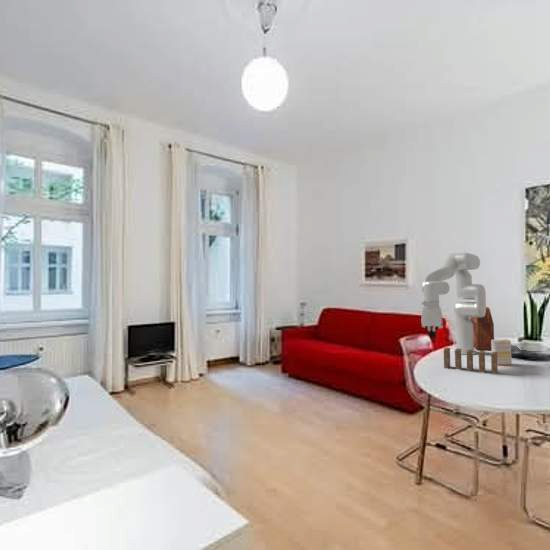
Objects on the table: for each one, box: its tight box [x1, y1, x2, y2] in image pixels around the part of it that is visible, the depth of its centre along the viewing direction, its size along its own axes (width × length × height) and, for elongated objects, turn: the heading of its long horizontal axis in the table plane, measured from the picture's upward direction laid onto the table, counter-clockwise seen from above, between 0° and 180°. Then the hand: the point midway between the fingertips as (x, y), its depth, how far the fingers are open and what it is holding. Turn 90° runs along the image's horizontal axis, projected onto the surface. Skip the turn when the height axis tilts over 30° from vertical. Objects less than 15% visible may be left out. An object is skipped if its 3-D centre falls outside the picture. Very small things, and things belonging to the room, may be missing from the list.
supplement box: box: [491, 339, 513, 366], centre depth 208 cm, size 8×5×13 cm, turn 84°
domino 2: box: [454, 349, 463, 370], centre depth 202 cm, size 2×5×10 cm, turn 143°
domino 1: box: [443, 347, 451, 369], centre depth 205 cm, size 2×5×10 cm, turn 143°
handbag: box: [470, 306, 495, 351], centre depth 254 cm, size 10×19×35 cm, turn 163°
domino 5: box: [490, 351, 499, 375], centre depth 192 cm, size 2×5×10 cm, turn 143°
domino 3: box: [466, 350, 474, 372], centre depth 198 cm, size 2×5×10 cm, turn 143°
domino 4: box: [478, 350, 486, 373], centre depth 195 cm, size 2×5×10 cm, turn 144°
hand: (432, 338), depth 209 cm, fingers closed
